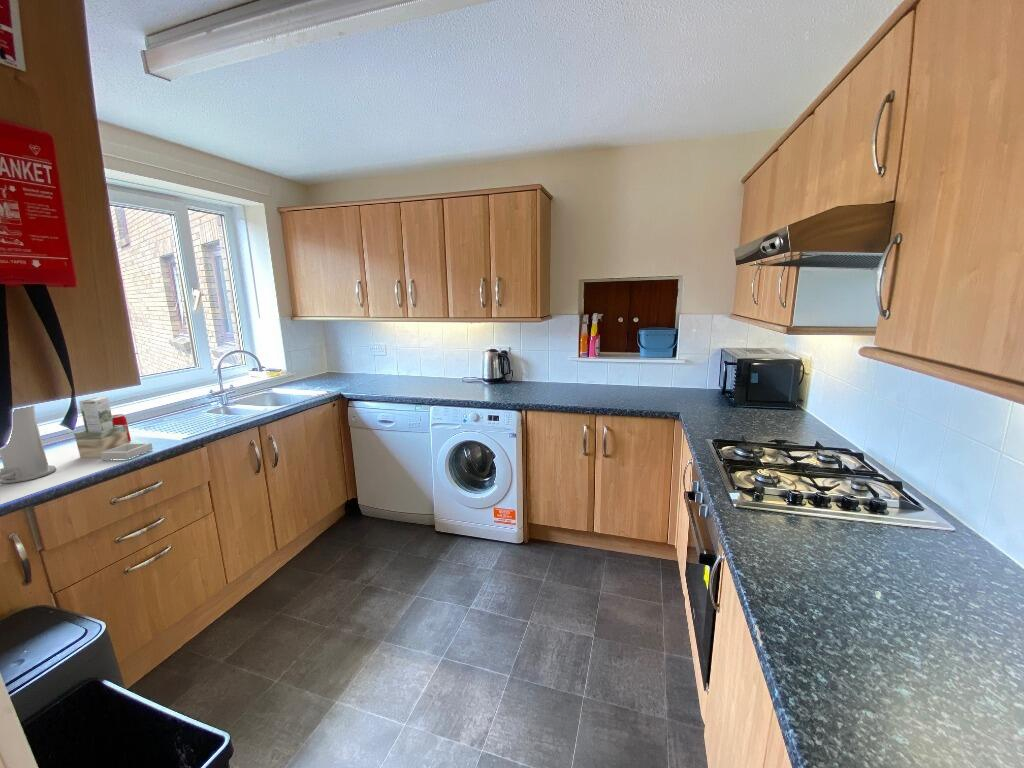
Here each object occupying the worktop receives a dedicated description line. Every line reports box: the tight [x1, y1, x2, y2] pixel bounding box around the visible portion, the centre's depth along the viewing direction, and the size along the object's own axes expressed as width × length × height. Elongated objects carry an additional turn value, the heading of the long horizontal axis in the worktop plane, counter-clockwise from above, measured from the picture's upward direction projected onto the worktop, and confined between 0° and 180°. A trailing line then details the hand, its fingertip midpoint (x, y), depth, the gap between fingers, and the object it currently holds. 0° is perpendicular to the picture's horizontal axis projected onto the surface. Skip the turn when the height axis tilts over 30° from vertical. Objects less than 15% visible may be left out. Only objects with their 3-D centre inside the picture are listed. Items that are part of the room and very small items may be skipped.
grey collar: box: [100, 442, 154, 461], centre depth 159 cm, size 10×10×3 cm
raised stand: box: [73, 425, 130, 458], centre depth 163 cm, size 10×10×10 cm
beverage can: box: [111, 413, 132, 443], centre depth 173 cm, size 6×6×12 cm
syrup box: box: [78, 396, 114, 432], centre depth 161 cm, size 6×6×14 cm
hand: (61, 374), depth 157 cm, fingers open, 9 cm apart
